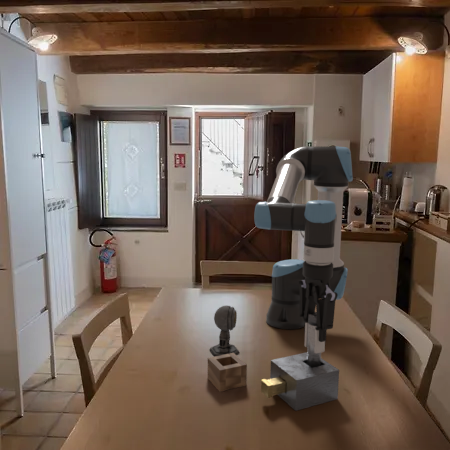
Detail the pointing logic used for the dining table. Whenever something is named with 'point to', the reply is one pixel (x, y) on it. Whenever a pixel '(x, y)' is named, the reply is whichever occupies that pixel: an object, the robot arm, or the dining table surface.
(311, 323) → the steel round rod
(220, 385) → the open box
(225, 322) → the figurine
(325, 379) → the socket
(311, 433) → the dining table surface
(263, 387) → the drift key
